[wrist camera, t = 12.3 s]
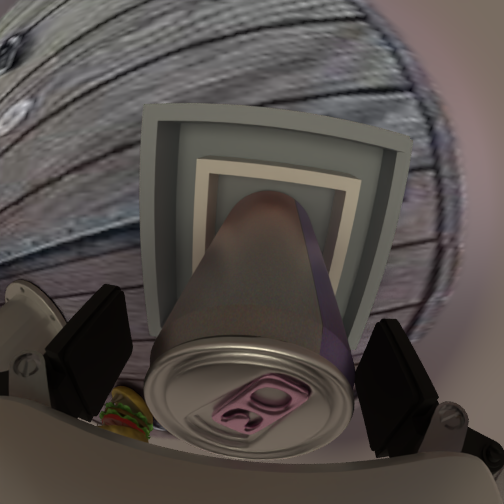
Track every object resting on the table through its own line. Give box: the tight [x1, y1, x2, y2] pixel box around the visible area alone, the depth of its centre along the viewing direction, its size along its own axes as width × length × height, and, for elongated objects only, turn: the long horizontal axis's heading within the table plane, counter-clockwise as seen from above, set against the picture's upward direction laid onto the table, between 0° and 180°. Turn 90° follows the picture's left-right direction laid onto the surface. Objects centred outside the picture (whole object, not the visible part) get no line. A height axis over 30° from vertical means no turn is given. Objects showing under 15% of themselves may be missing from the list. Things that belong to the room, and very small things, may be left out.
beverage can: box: [143, 191, 355, 461], centre depth 13 cm, size 6×6×15 cm
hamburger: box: [97, 386, 153, 443], centre depth 26 cm, size 8×7×12 cm
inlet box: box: [139, 103, 413, 351], centre depth 19 cm, size 16×16×5 cm
